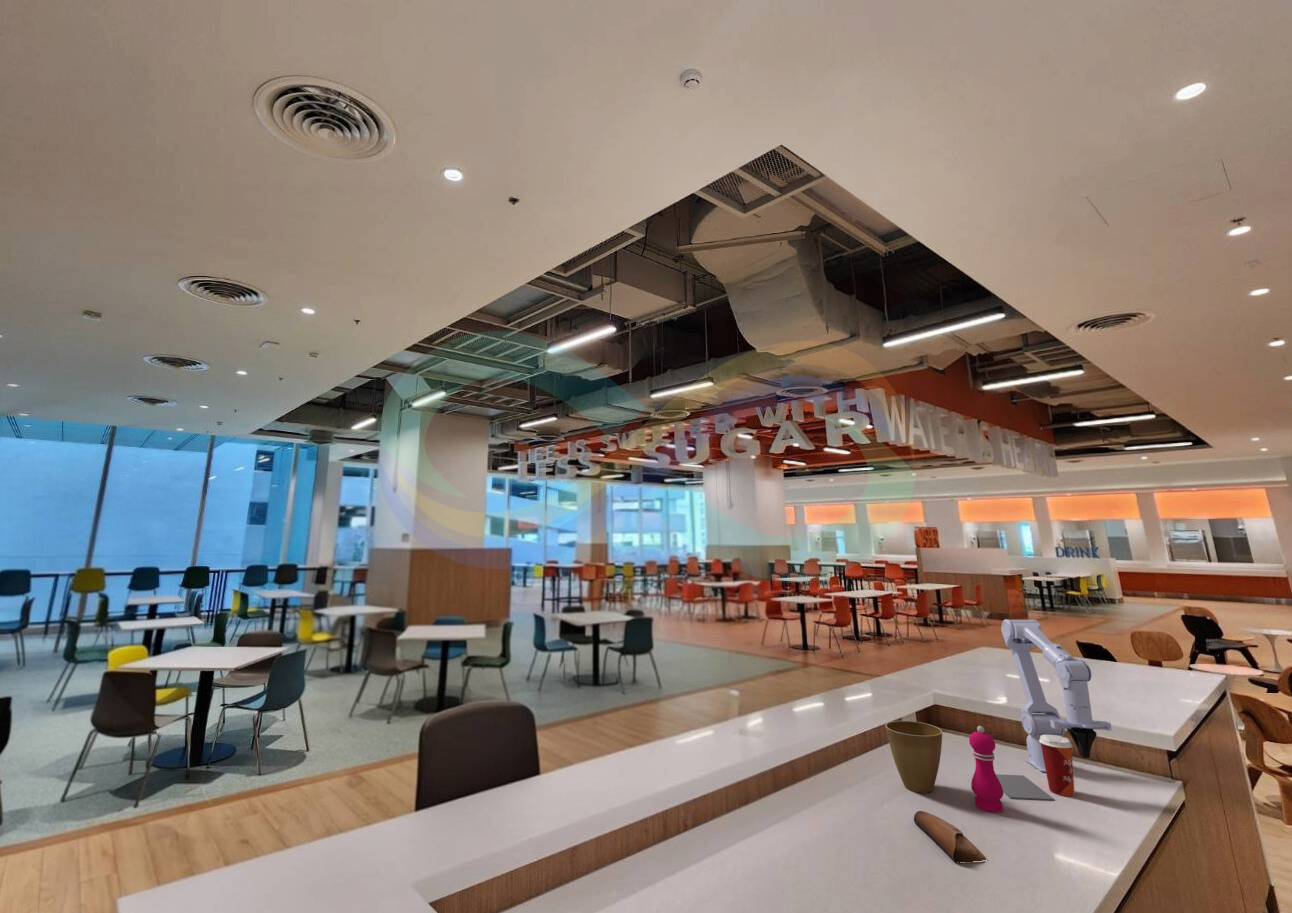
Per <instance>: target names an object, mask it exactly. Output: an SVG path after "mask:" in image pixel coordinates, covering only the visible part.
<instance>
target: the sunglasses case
mask: <svg viewBox="0 0 1292 913" xmlns="http://www.w3.org/2000/svg"><path fill="white" fill-rule="evenodd" d="M913 816H914V817H913V822H914V824H915V825H916V826H917V827H919V828H920V829H921V830H923V832H925V833H926V834H927V835H928V836H929V837H930V838H931V839H932V840H933V841H934V842H935V843H936V844H937V845H938V846H939V847H940V848H941V849H942V850H943V851H944V852H945V854H947V856H949V857H950V858H951V859H952V860H953V861H954V862H955V863H956V862H959V864H961V863H960V862H973V861H982V860H986V859H987V860H988V858H987V857H986V856H985V855H984V854H983V853H982V851H981V850H979V848H978V847H977V846H975V845H974V843H972V842H971V841H970V840H969V839H968V838H967V837H966V836H965V835H964V833H963V832H962V831H961V830H960V829H959V828H957V827H956V826H955V825H953V824H951V823H950V822H948V821H946V820H944V819H942V818H940V817H939V816H936V815H934V814H932V813H929V812H927V811H924V810H918V811H916V812H915V814H914V815H913Z"/></svg>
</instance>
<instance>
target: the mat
mask: <svg viewBox="0 0 1292 913" xmlns="http://www.w3.org/2000/svg"><path fill="white" fill-rule="evenodd" d="M995 774H996V776H997V778H998V780H999V782H1000V783H1001V786H1002V789H1003V794H1004V795H1006V796H1007V797H1008V799H1011V800H1013V799H1014V800H1028V801H1029V800H1030V801H1031V800H1035V801H1051V802H1052V801H1053V802H1054V801H1055V800H1056V799H1055V798H1054V797H1052V796H1051V795H1050V794H1049V793H1048V792H1046V791H1045V790H1044V789H1042V788H1041V787H1039V786H1038V785H1037V784H1035V783H1034V782H1033V781H1031V779H1029V778H1027V777H1026V776H1025V775H1023V774H999V773H995Z"/></svg>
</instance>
